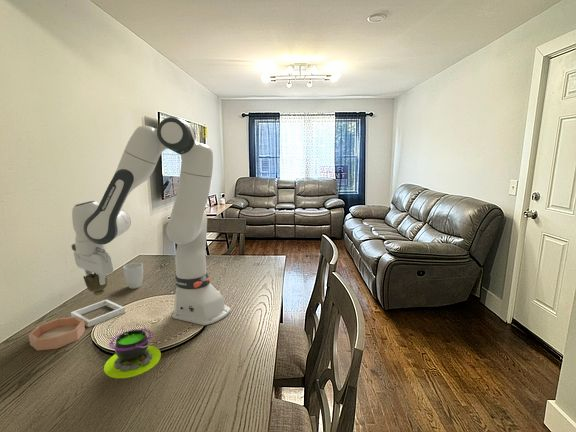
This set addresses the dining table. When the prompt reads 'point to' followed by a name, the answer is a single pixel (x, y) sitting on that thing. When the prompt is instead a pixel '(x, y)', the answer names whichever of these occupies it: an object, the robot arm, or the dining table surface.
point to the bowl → (56, 333)
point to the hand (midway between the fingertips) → (96, 282)
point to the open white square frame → (89, 323)
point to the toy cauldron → (132, 354)
